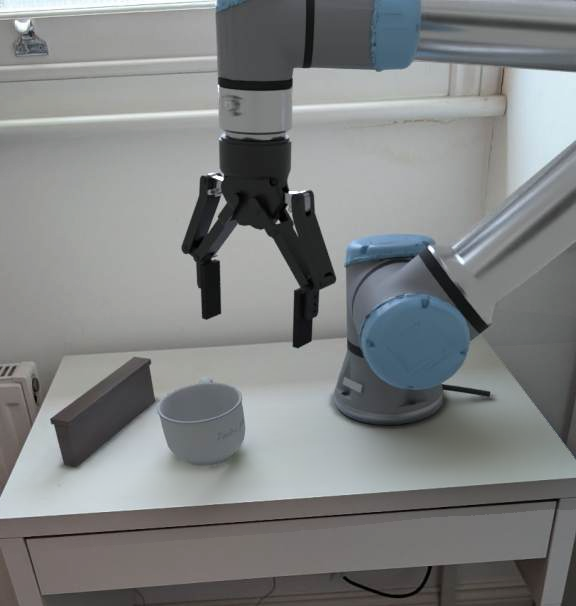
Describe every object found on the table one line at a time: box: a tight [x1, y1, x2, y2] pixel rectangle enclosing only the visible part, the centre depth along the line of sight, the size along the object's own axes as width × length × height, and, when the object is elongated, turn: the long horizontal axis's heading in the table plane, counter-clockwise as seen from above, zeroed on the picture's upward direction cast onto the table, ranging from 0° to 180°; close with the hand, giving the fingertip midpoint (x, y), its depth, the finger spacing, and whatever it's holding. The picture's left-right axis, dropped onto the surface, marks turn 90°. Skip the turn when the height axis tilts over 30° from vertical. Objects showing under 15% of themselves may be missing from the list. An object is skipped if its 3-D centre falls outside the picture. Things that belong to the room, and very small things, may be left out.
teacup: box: [156, 376, 246, 466], centre depth 105 cm, size 14×11×8 cm
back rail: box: [49, 356, 156, 468], centre depth 111 cm, size 3×20×7 cm, turn 157°
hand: (255, 330), depth 95 cm, fingers open, 13 cm apart
